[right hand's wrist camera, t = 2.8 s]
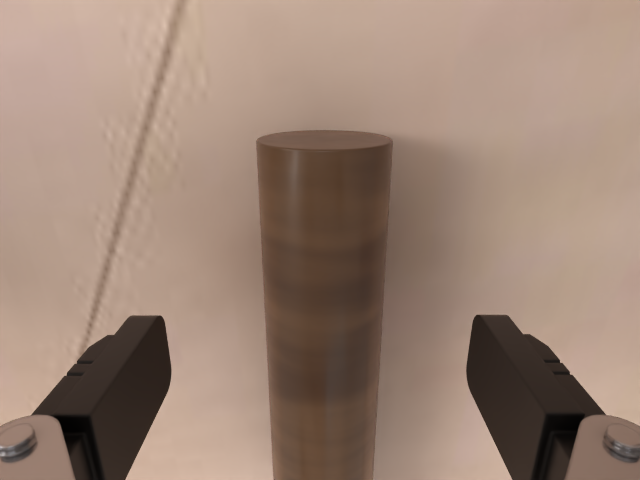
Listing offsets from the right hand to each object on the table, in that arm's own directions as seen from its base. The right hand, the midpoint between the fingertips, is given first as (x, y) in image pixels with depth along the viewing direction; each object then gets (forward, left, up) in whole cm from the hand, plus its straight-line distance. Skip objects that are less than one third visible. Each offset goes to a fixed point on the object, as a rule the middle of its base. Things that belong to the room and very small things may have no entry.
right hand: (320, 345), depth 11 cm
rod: (0, +8, -12) cm, 14 cm away
